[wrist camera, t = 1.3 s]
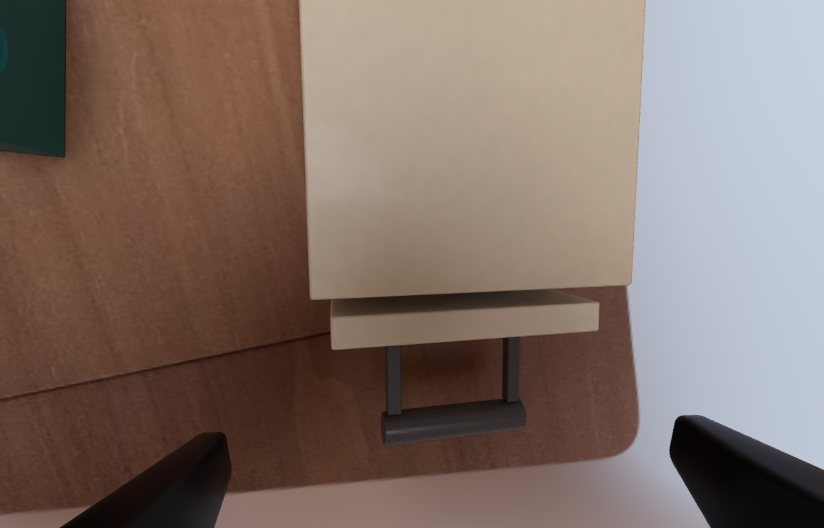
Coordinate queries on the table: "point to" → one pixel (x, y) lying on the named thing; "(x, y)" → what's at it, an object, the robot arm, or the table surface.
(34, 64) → the bracket
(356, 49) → the cabinet
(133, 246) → the table surface
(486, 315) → the drawer
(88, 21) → the table surface
